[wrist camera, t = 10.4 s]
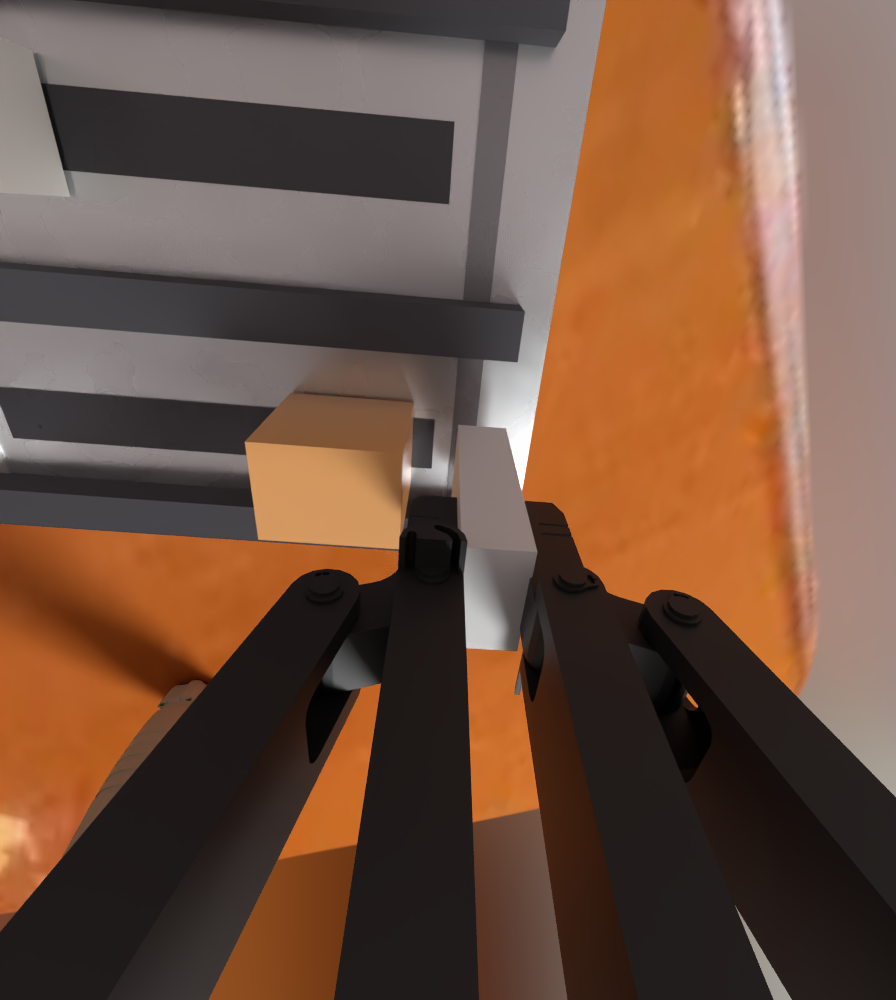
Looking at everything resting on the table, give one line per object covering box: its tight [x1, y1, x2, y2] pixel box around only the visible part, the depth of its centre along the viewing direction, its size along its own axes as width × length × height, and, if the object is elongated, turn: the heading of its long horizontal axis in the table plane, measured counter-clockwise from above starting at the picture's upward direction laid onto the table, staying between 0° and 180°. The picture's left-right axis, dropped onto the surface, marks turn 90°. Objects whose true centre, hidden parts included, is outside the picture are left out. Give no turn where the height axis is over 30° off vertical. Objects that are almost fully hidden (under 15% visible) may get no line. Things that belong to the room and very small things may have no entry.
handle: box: [62, 680, 207, 858], centre depth 19 cm, size 5×6×15 cm
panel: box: [0, 0, 606, 501], centre depth 15 cm, size 21×16×2 cm
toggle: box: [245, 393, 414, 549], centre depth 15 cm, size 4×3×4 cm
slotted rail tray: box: [0, 0, 570, 551], centre depth 14 cm, size 19×16×1 cm
